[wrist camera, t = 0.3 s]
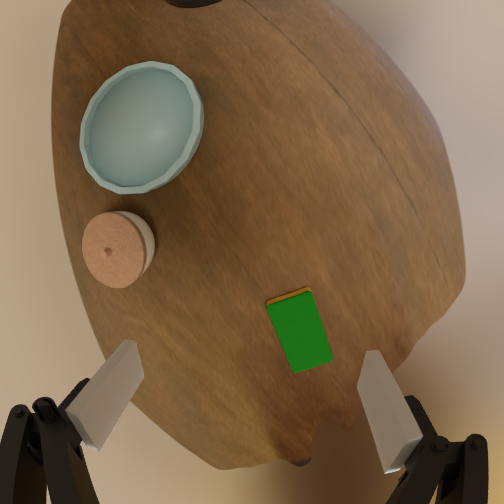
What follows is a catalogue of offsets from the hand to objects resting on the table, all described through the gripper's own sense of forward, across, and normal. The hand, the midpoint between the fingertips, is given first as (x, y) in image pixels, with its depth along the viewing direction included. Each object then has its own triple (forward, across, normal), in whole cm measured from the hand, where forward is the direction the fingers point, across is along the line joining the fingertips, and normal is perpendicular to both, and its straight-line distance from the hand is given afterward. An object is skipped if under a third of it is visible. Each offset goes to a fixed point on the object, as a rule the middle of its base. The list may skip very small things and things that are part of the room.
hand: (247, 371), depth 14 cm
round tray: (+27, -19, +20) cm, 38 cm away
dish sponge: (+28, +6, -13) cm, 31 cm away
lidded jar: (+27, -20, +2) cm, 34 cm away
